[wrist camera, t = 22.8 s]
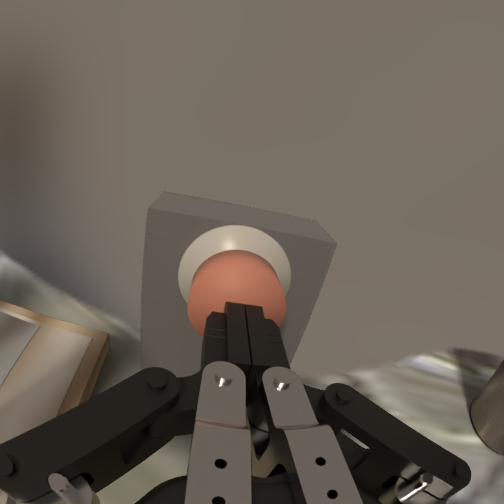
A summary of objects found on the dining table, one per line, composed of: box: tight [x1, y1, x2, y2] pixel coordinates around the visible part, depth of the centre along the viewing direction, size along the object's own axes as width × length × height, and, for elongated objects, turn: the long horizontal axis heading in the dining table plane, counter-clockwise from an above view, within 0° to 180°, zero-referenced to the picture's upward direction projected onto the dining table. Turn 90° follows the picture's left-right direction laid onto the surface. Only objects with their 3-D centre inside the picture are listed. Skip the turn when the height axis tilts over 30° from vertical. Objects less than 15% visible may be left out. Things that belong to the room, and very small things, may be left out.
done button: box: [187, 250, 286, 337], centre depth 13 cm, size 4×2×4 cm, turn 95°
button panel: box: [141, 192, 337, 378], centre depth 18 cm, size 10×4×12 cm, turn 95°
